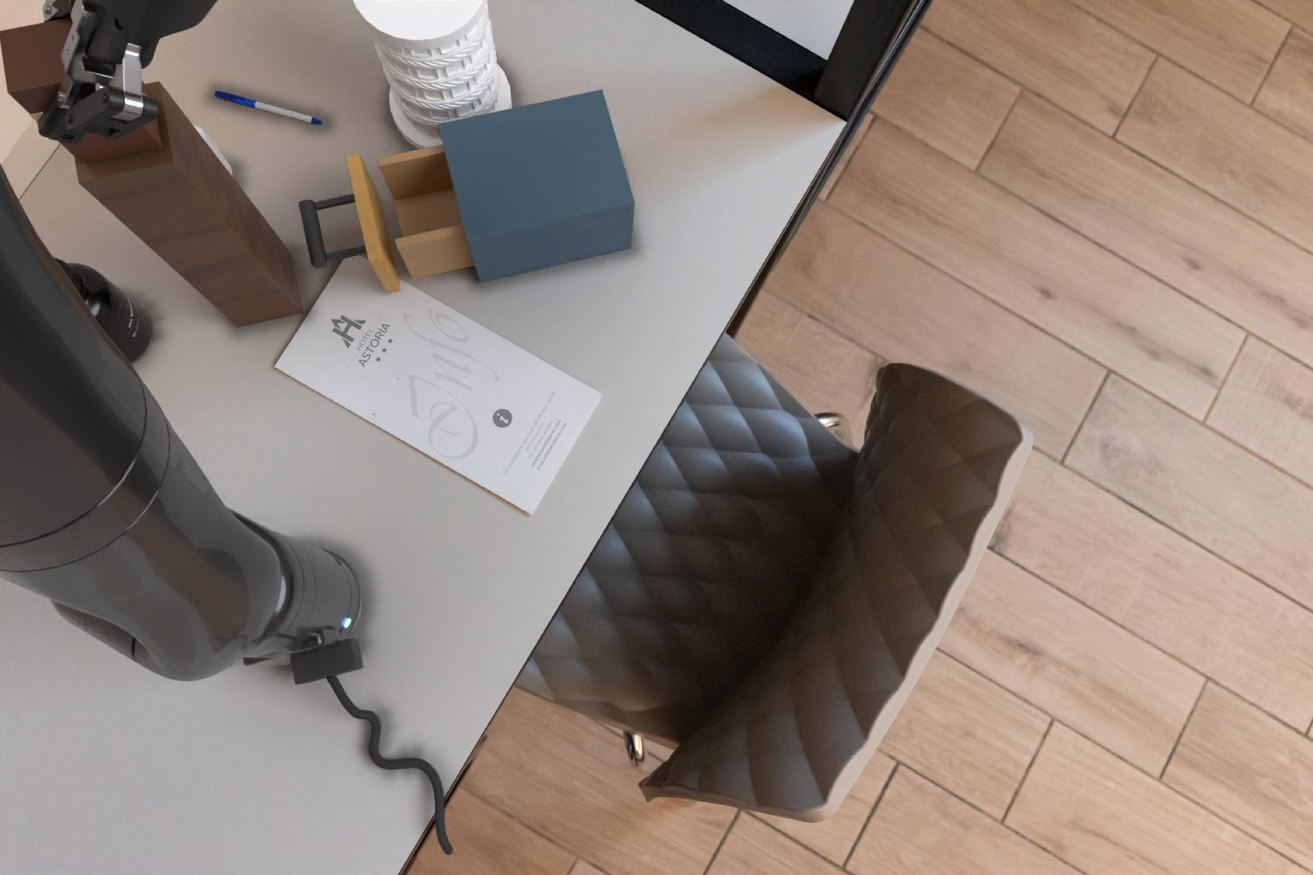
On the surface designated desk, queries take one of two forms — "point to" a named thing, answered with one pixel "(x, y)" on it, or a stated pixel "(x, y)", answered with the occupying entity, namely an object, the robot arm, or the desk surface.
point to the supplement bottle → (112, 309)
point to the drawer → (399, 217)
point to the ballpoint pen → (266, 107)
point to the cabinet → (539, 185)
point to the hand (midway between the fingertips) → (51, 99)
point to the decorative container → (436, 62)
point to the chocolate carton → (39, 77)
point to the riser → (198, 220)
